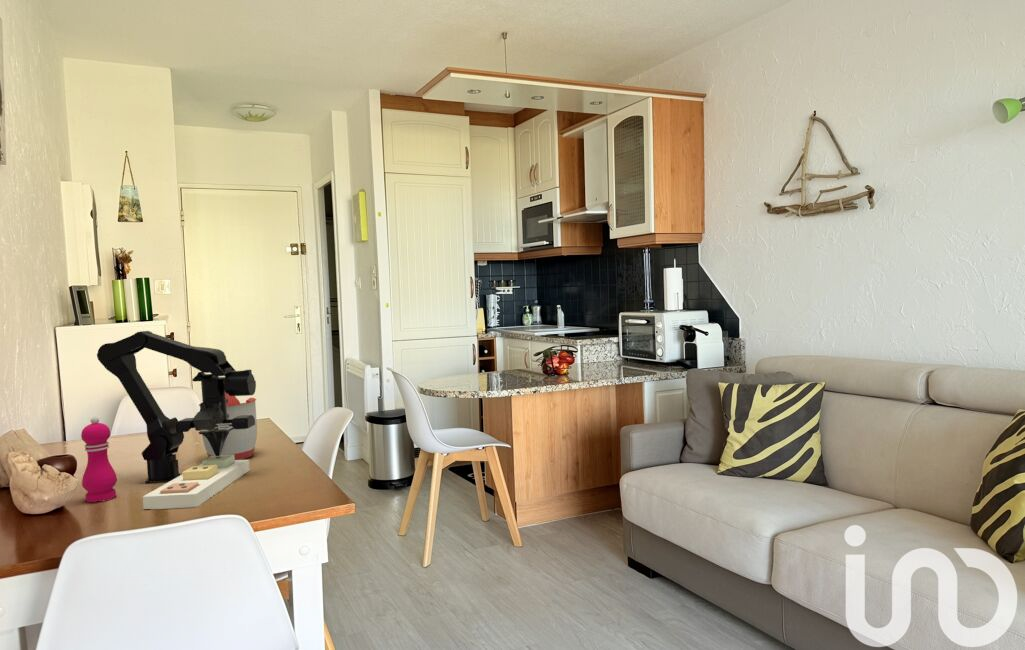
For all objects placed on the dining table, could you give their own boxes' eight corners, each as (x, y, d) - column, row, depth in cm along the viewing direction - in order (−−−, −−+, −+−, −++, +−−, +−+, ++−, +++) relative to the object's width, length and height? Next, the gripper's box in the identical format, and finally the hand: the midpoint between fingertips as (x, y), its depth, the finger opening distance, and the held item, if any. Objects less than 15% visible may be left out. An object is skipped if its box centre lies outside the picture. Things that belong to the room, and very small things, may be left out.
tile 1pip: (202, 469, 179) (202, 460, 179) (212, 464, 185) (211, 454, 185) (225, 468, 179) (225, 459, 179) (234, 462, 185) (234, 453, 185)
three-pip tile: (161, 500, 157) (160, 489, 157) (173, 493, 163) (172, 482, 163) (187, 499, 157) (186, 488, 157) (199, 491, 163) (198, 481, 163)
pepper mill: (93, 505, 161) (86, 420, 160) (77, 501, 165) (70, 418, 164) (124, 496, 167) (117, 415, 166) (108, 493, 171) (102, 413, 170)
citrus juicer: (272, 450, 211) (268, 385, 210) (241, 465, 194) (236, 394, 193) (226, 450, 214) (222, 387, 213) (191, 465, 197) (186, 395, 196)
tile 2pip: (183, 481, 168) (182, 471, 168) (194, 475, 174) (193, 465, 174) (207, 480, 168) (206, 470, 168) (217, 473, 174) (217, 464, 174)
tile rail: (143, 509, 155) (142, 496, 155) (205, 472, 187) (204, 461, 187) (197, 507, 155) (196, 494, 155) (249, 470, 187) (248, 459, 187)
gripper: (163, 404, 173) (167, 465, 174) (237, 400, 173) (241, 461, 174) (183, 397, 184) (188, 454, 185) (253, 393, 184) (257, 451, 185)
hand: (218, 455), depth 182 cm, fingers closed
